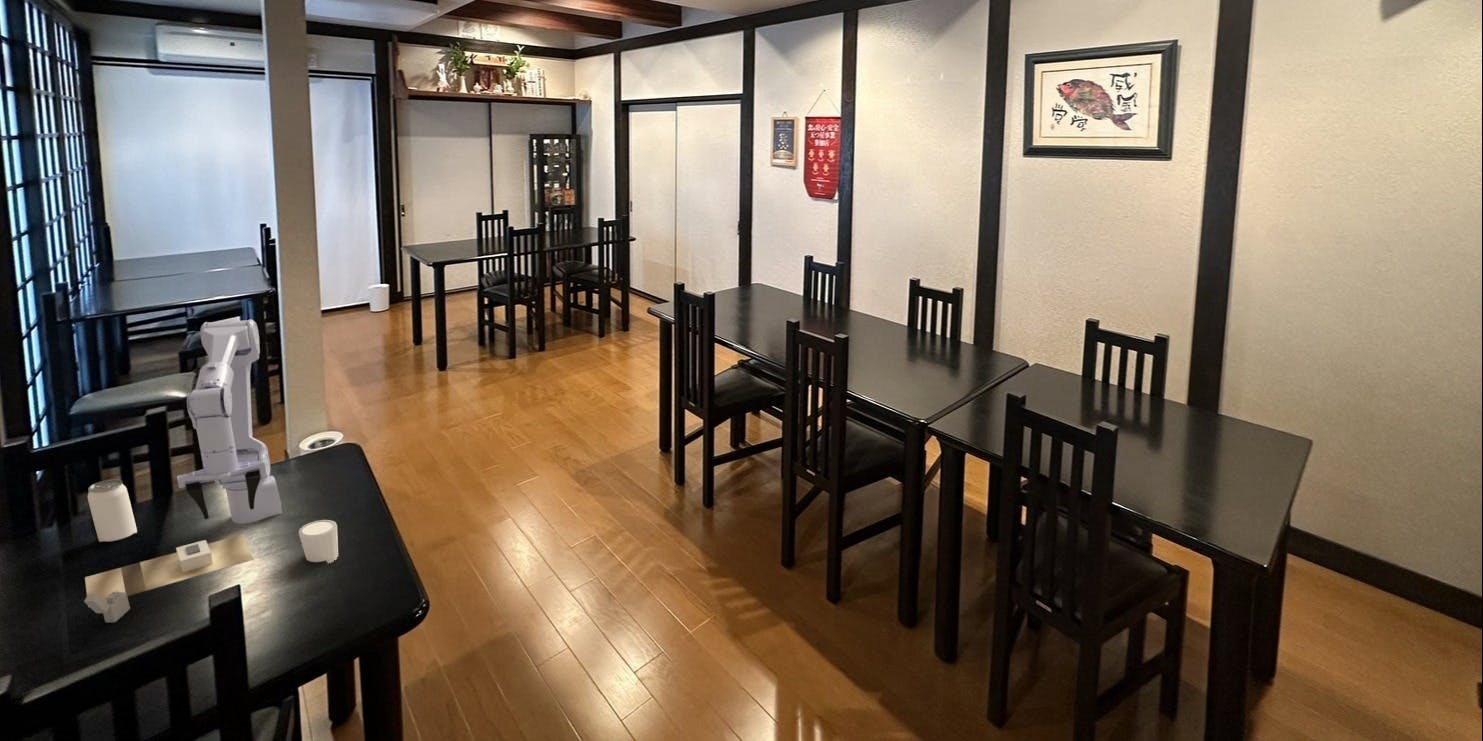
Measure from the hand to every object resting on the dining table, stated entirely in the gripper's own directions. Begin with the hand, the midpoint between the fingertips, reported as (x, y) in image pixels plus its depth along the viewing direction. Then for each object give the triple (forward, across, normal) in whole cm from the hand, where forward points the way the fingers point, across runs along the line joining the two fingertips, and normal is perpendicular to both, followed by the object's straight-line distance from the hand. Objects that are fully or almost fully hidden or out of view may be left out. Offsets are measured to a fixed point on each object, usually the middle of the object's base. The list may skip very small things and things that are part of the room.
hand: (229, 512), depth 160 cm
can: (+9, -19, +22) cm, 30 cm away
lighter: (+11, -20, -14) cm, 27 cm away
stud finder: (+9, -7, 0) cm, 11 cm away
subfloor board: (+10, -11, 0) cm, 15 cm away
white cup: (+10, +14, -10) cm, 20 cm away
